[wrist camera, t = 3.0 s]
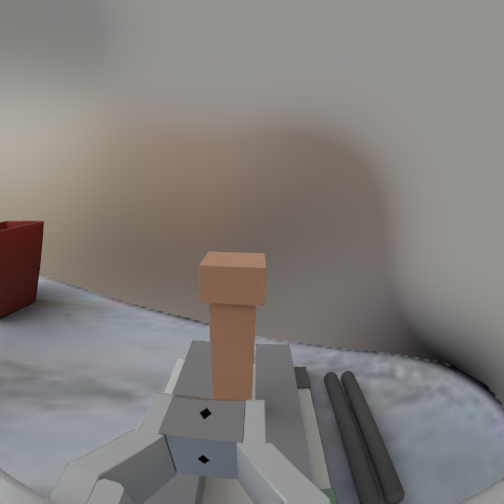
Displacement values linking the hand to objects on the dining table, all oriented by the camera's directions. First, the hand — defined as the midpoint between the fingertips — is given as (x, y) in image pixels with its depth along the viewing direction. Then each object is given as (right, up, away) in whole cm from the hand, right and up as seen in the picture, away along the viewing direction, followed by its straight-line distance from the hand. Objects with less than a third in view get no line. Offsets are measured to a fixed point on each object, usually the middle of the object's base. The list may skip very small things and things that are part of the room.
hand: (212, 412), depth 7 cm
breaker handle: (-1, -12, +15) cm, 19 cm away
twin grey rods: (+11, -14, +16) cm, 24 cm away
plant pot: (-52, -7, +36) cm, 64 cm away
